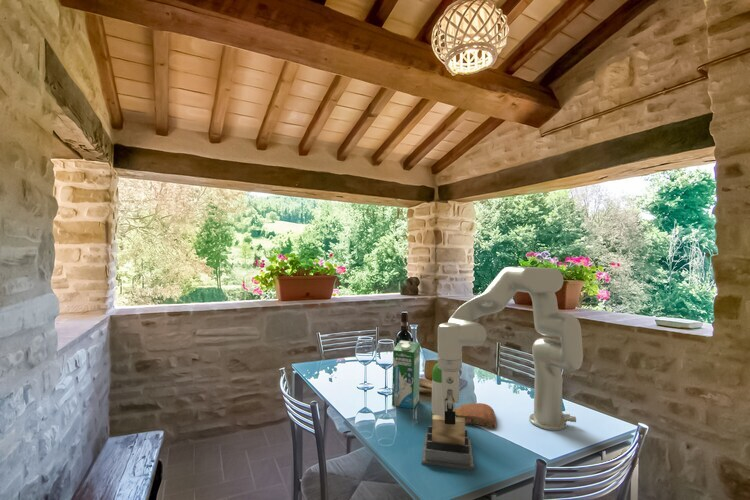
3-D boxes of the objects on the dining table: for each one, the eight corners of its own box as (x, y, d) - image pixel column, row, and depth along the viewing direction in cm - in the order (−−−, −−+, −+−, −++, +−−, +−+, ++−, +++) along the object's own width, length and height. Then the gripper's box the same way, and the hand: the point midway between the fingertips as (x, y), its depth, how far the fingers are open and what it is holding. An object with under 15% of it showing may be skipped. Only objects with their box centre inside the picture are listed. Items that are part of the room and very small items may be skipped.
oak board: (463, 447, 119) (464, 417, 120) (464, 453, 116) (465, 422, 116) (432, 444, 121) (432, 414, 121) (431, 449, 118) (432, 419, 118)
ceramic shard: (455, 395, 153) (493, 405, 150) (453, 411, 153) (491, 421, 149) (455, 404, 139) (497, 415, 136) (452, 422, 139) (495, 433, 135)
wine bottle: (456, 424, 138) (457, 342, 138) (436, 427, 136) (438, 343, 136) (446, 416, 145) (447, 338, 146) (427, 418, 143) (429, 338, 144)
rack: (470, 441, 126) (470, 429, 126) (473, 470, 109) (474, 456, 109) (424, 436, 128) (425, 424, 128) (421, 463, 112) (422, 450, 112)
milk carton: (391, 405, 155) (393, 344, 155) (398, 397, 163) (400, 339, 163) (413, 409, 151) (414, 346, 152) (419, 401, 160) (420, 342, 160)
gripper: (463, 372, 110) (463, 430, 110) (460, 355, 127) (460, 406, 127) (437, 370, 111) (437, 428, 111) (438, 354, 128) (438, 404, 128)
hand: (449, 416), depth 119 cm, fingers open, 9 cm apart
